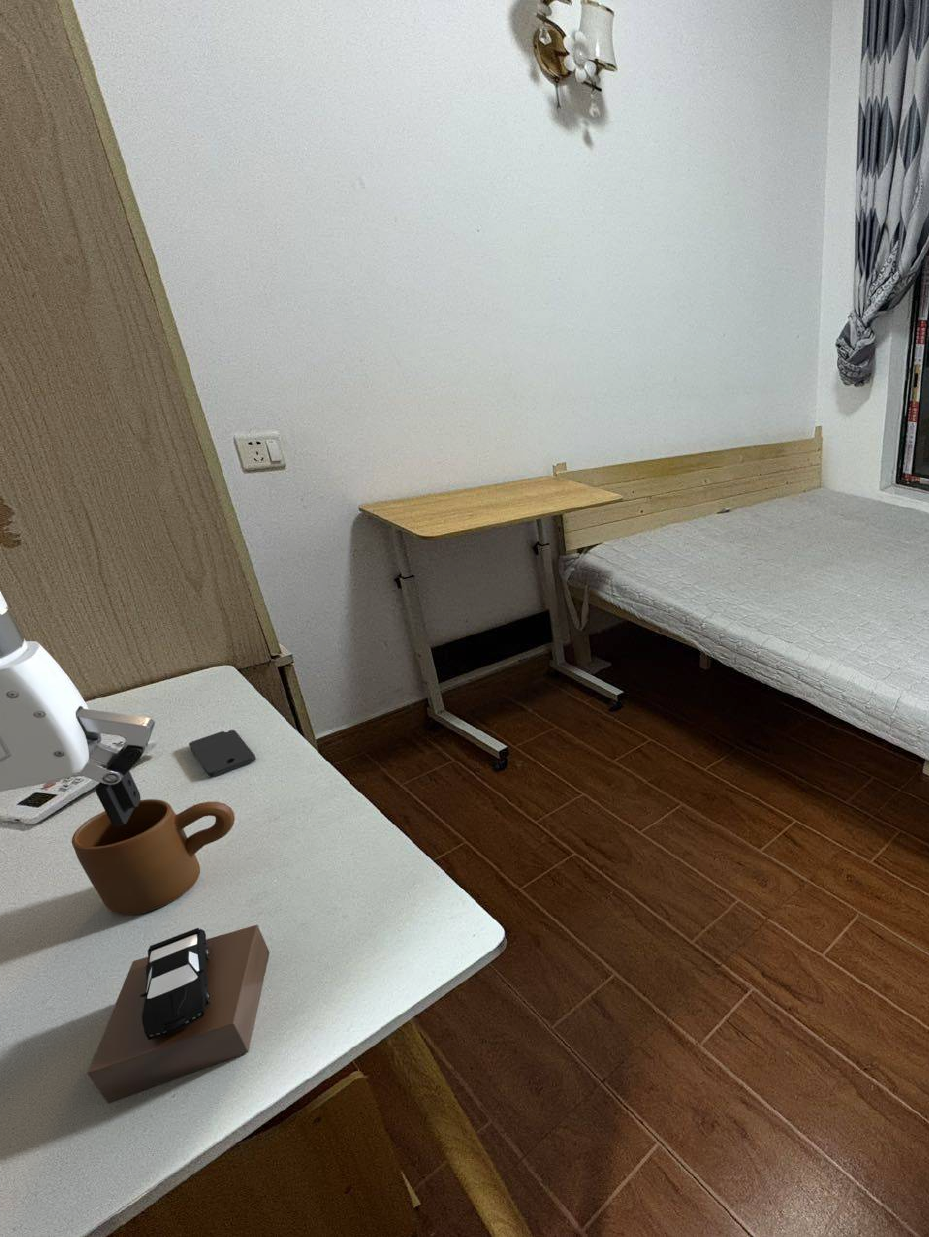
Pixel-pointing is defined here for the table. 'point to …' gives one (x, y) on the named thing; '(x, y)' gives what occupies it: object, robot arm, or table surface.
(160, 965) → the toy car
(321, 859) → the table surface
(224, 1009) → the walnut block
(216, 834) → the mug
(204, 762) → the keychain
